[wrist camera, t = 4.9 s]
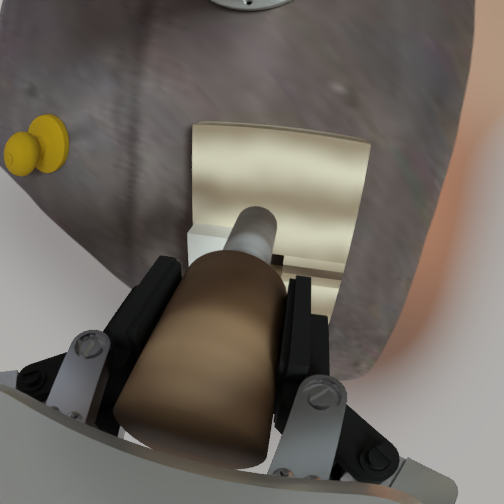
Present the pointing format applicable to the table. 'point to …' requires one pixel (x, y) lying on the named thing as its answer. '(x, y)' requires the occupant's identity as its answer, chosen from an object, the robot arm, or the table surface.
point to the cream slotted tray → (285, 193)
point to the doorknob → (38, 147)
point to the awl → (214, 356)
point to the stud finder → (206, 239)
